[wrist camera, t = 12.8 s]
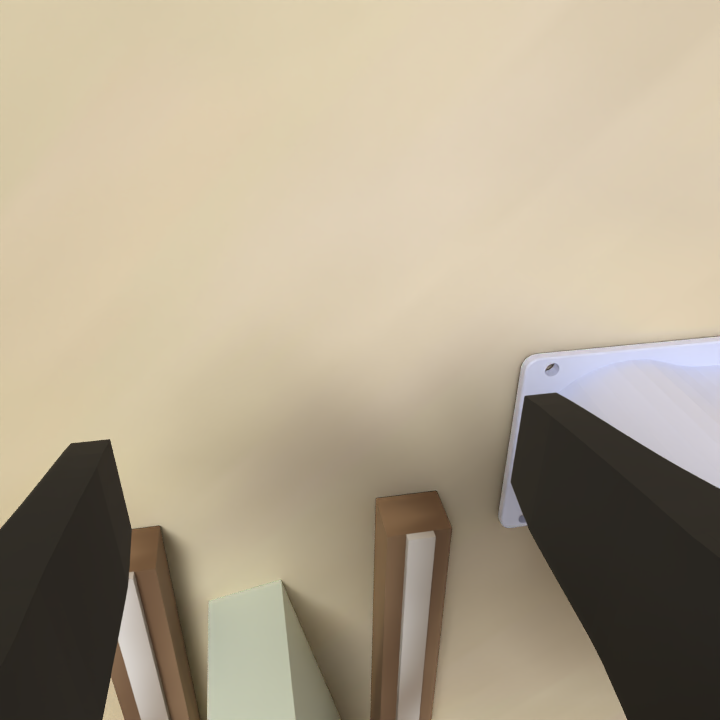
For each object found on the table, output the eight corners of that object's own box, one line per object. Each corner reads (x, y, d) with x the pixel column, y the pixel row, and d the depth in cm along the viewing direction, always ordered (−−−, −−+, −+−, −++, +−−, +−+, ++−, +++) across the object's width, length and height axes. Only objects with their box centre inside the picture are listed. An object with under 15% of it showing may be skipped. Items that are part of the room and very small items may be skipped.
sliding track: (436, 490, 26) (454, 534, 24) (412, 767, 36) (423, 812, 34) (90, 534, 23) (79, 586, 22) (170, 814, 34) (167, 866, 32)
